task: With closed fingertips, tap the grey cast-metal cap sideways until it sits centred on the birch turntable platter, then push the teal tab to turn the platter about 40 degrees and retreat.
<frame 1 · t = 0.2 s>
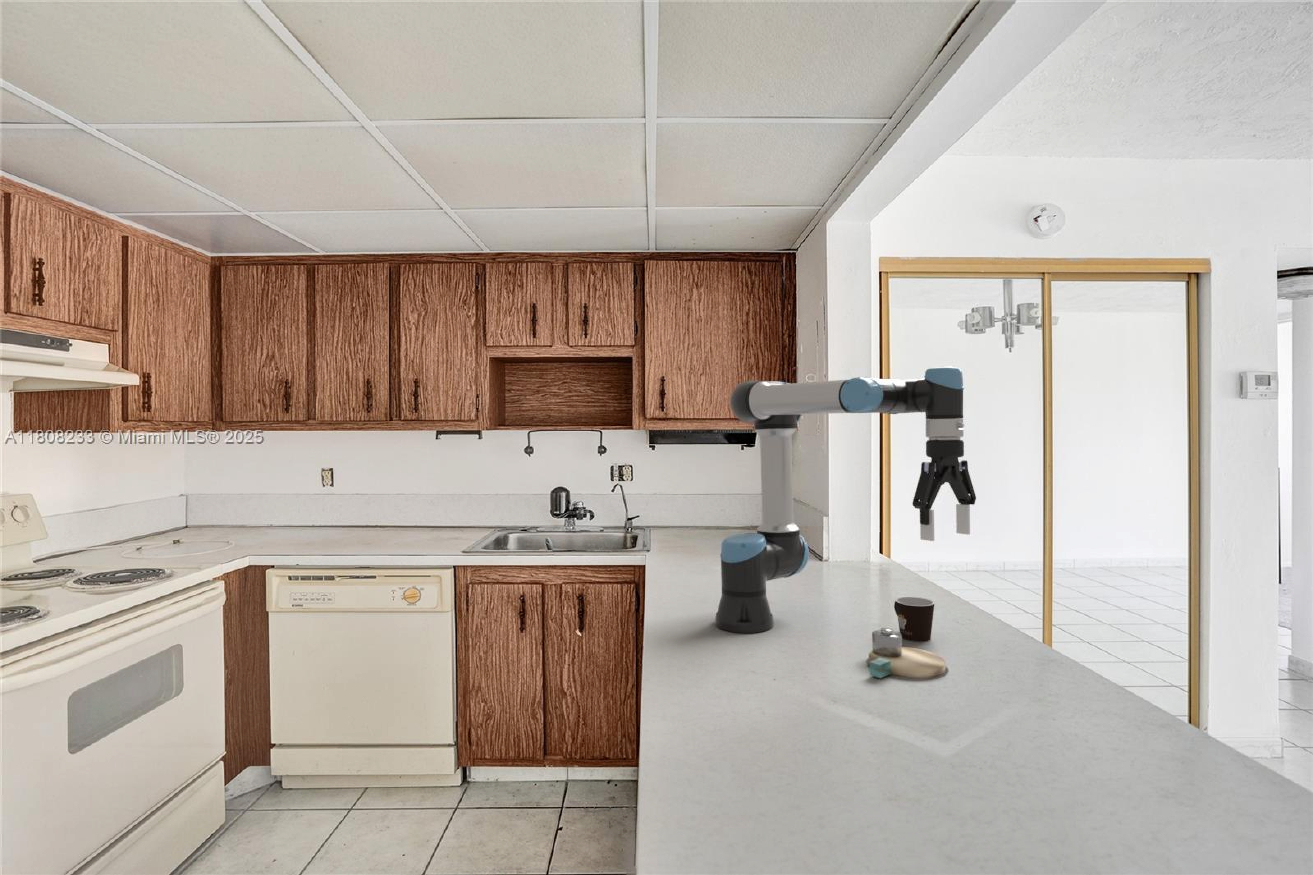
hand: (945, 537, 141), 27 cm above the worktop, fingers open, 13 cm apart
turntable base: (906, 672, 136), on the worktop
cover: (887, 652, 139), point 3 cm above the worktop, touching platter
platter: (901, 660, 135), point 3 cm above the worktop, hinge at 0.0°, touching cover
coffee mug: (914, 642, 156), on the worktop
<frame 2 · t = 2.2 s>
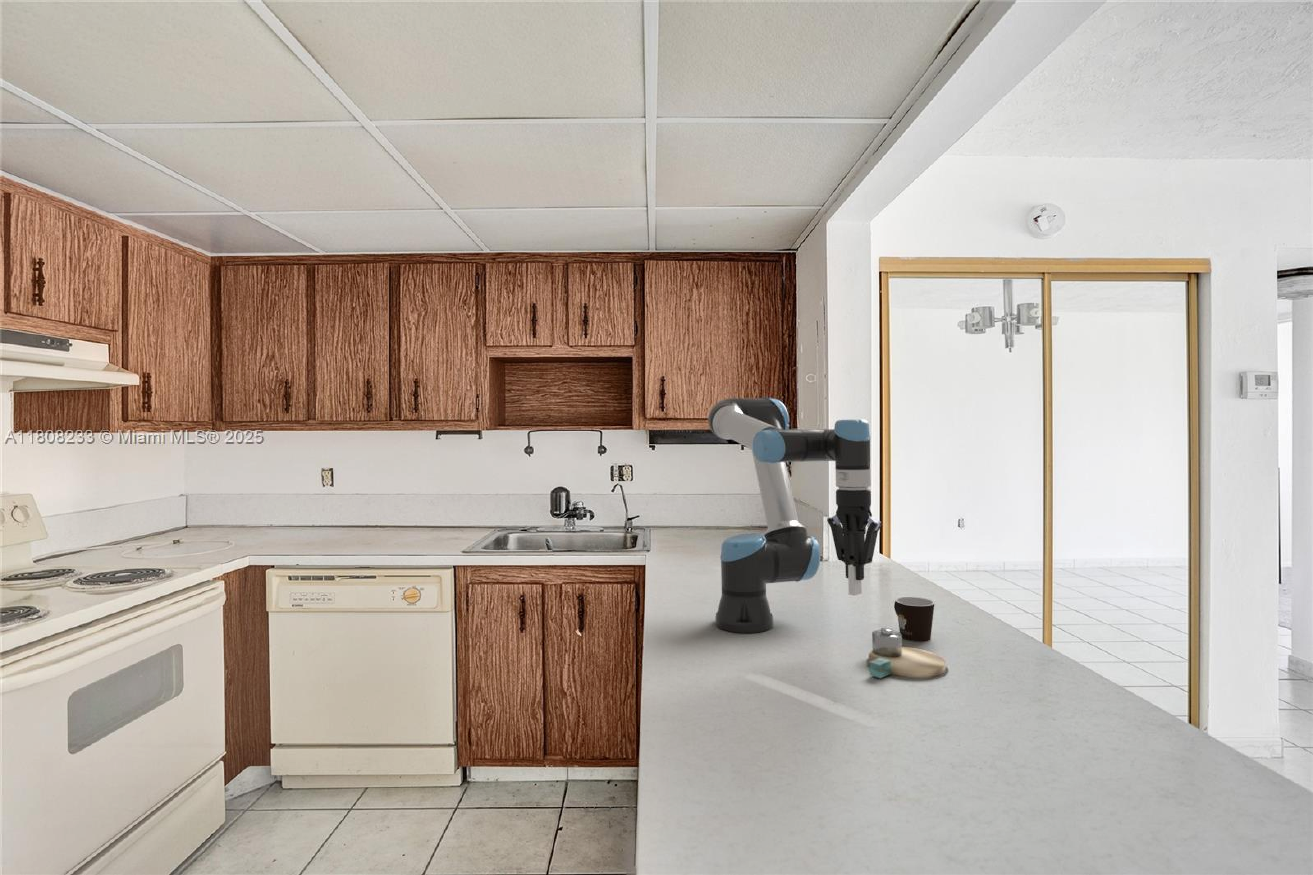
hand: (855, 593, 145), 14 cm above the worktop, fingers closed
nothing on the worktop moved.
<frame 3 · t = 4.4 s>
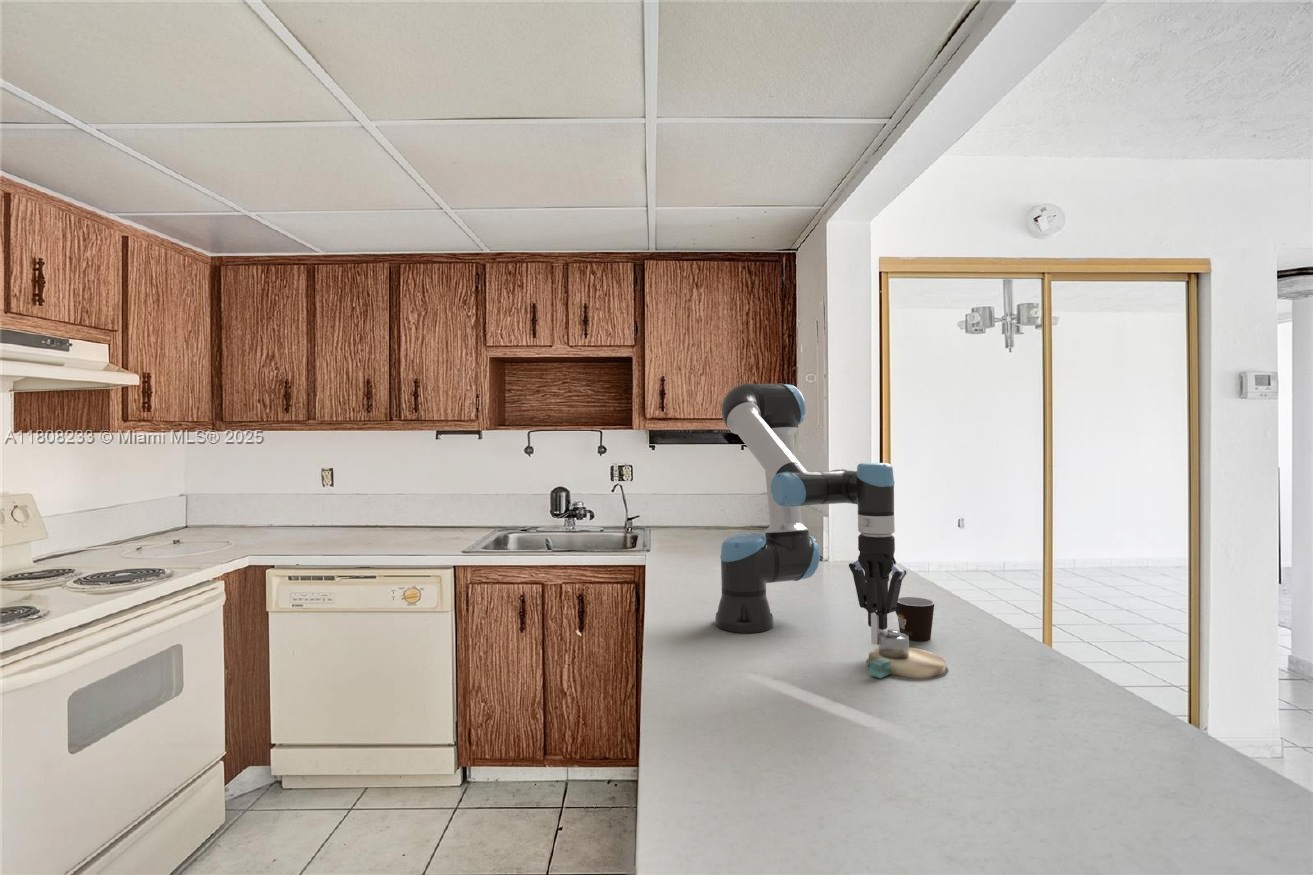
hand: (877, 642, 141), 5 cm above the worktop, fingers closed
cover: (893, 654, 138), point 3 cm above the worktop, touching gripper, platter
everything else where it was.
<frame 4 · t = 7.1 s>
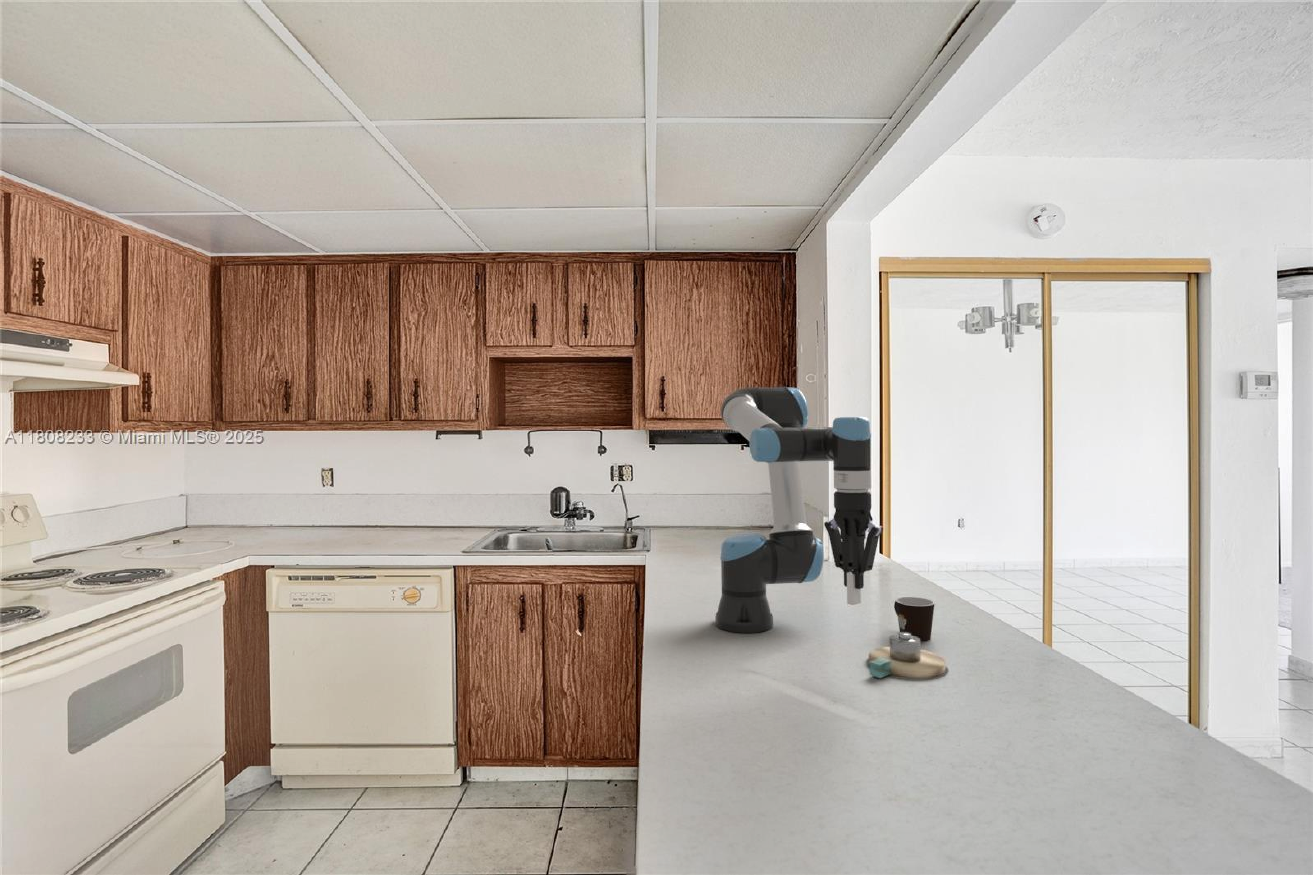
hand: (854, 603, 136), 15 cm above the worktop, fingers closed
cover: (905, 657, 136), point 3 cm above the worktop, touching platter
everything else where it was.
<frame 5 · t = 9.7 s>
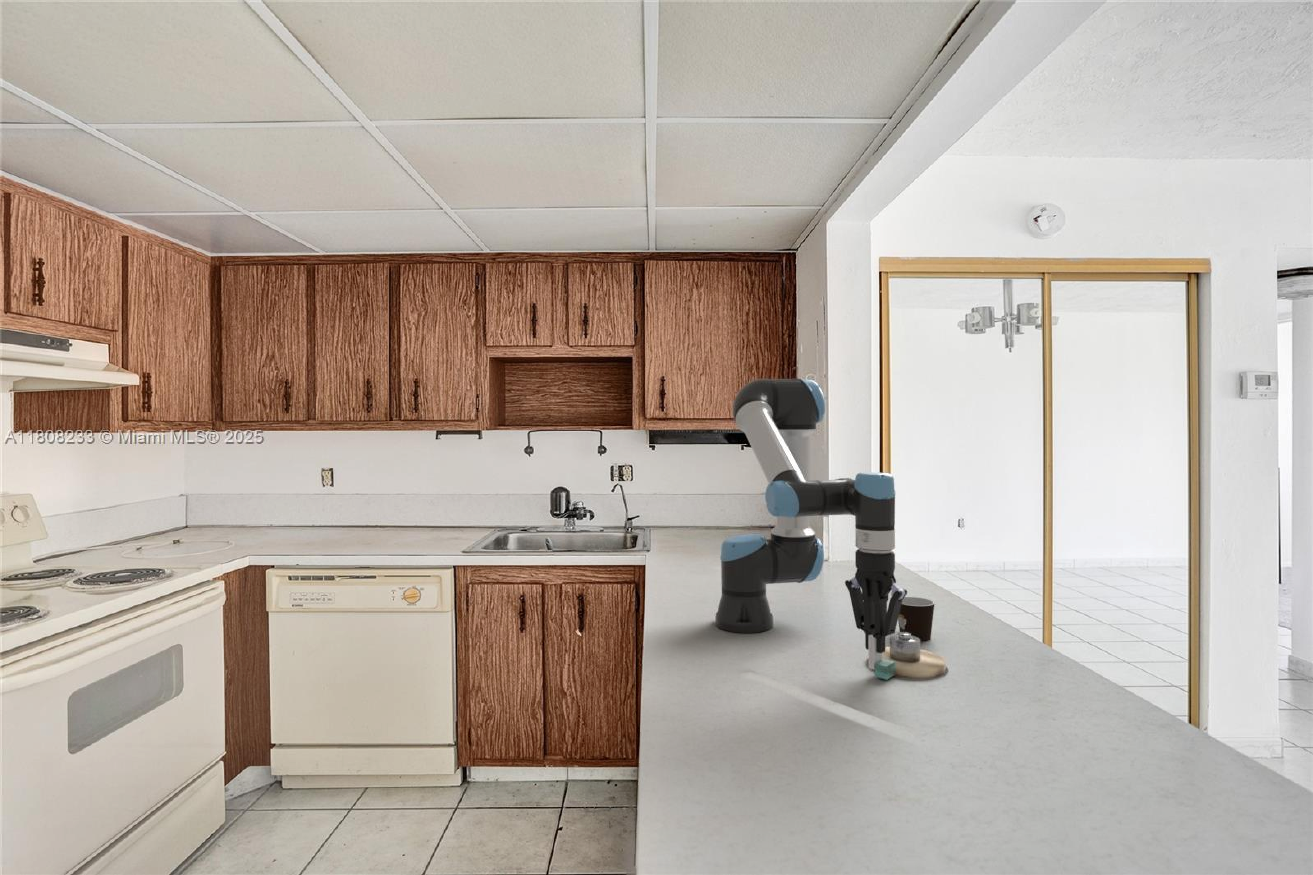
hand: (875, 667, 130), 3 cm above the worktop, fingers closed
platter: (902, 660, 134), point 3 cm above the worktop, hinge at 6.7°, touching cover, gripper
everything else where it was.
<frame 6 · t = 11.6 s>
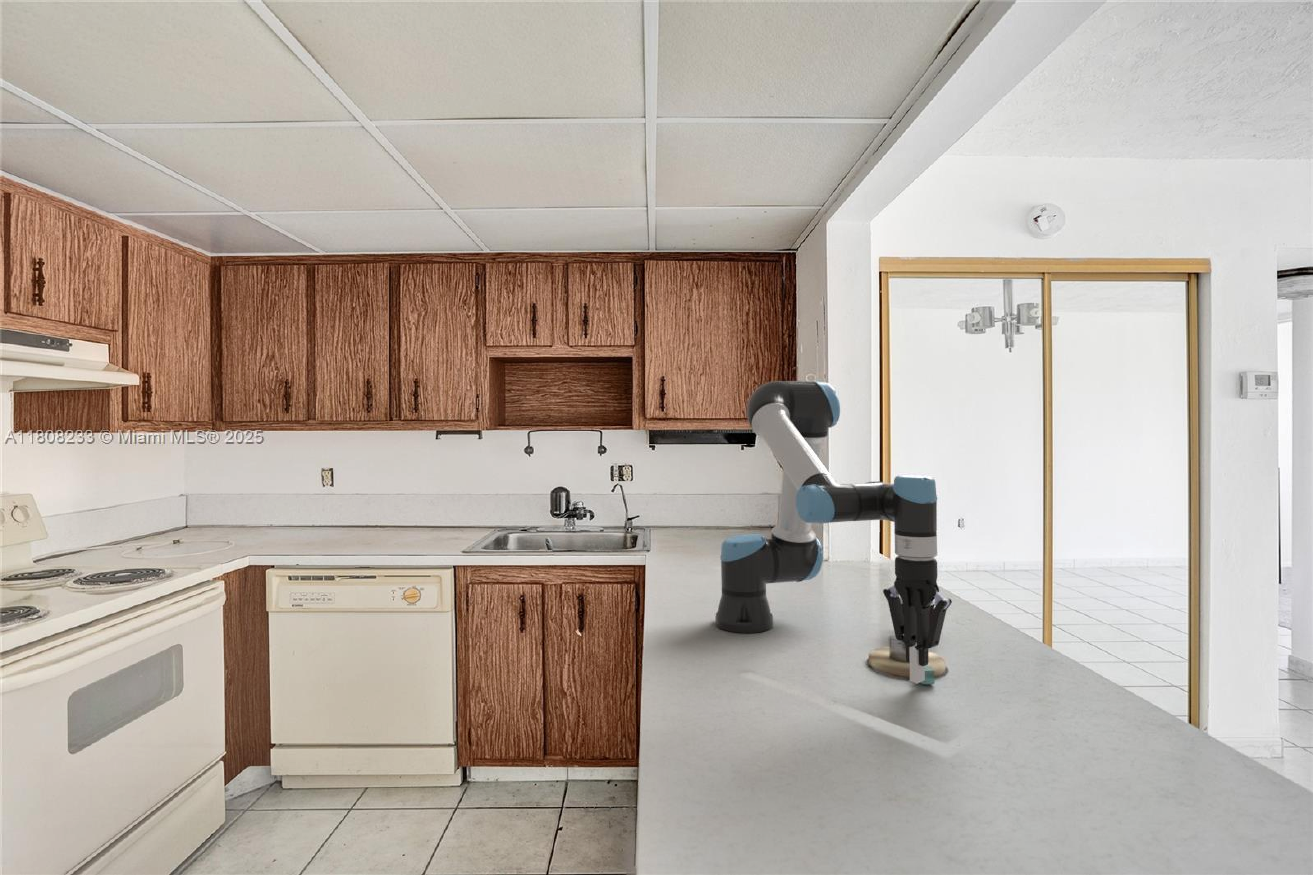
hand: (917, 680, 124), 3 cm above the worktop, fingers closed
platter: (909, 661, 134), point 3 cm above the worktop, hinge at 51.1°, touching cover, gripper
everything else where it was.
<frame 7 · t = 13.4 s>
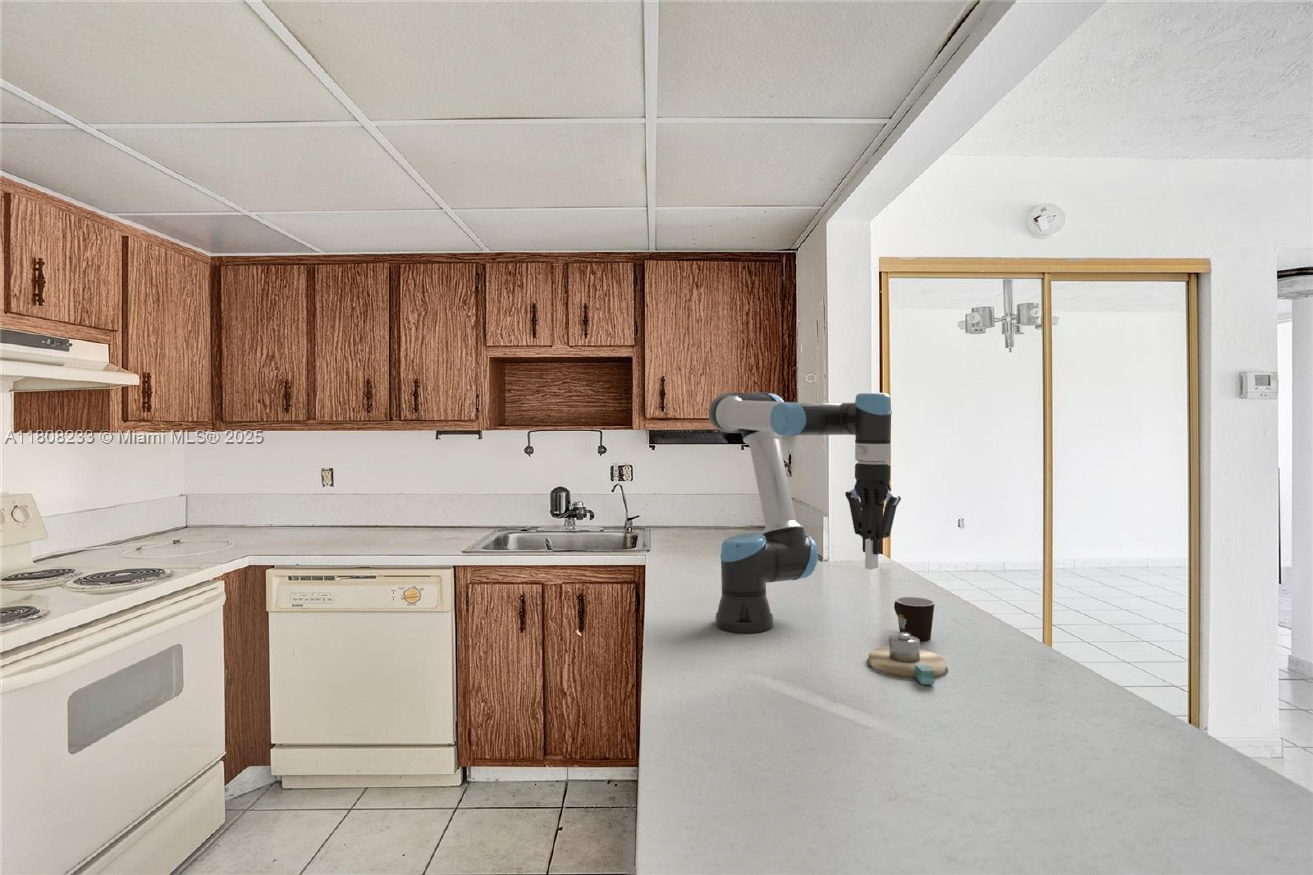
hand: (871, 567, 145), 20 cm above the worktop, fingers closed
platter: (909, 661, 134), point 3 cm above the worktop, hinge at 51.2°, touching cover
everything else where it was.
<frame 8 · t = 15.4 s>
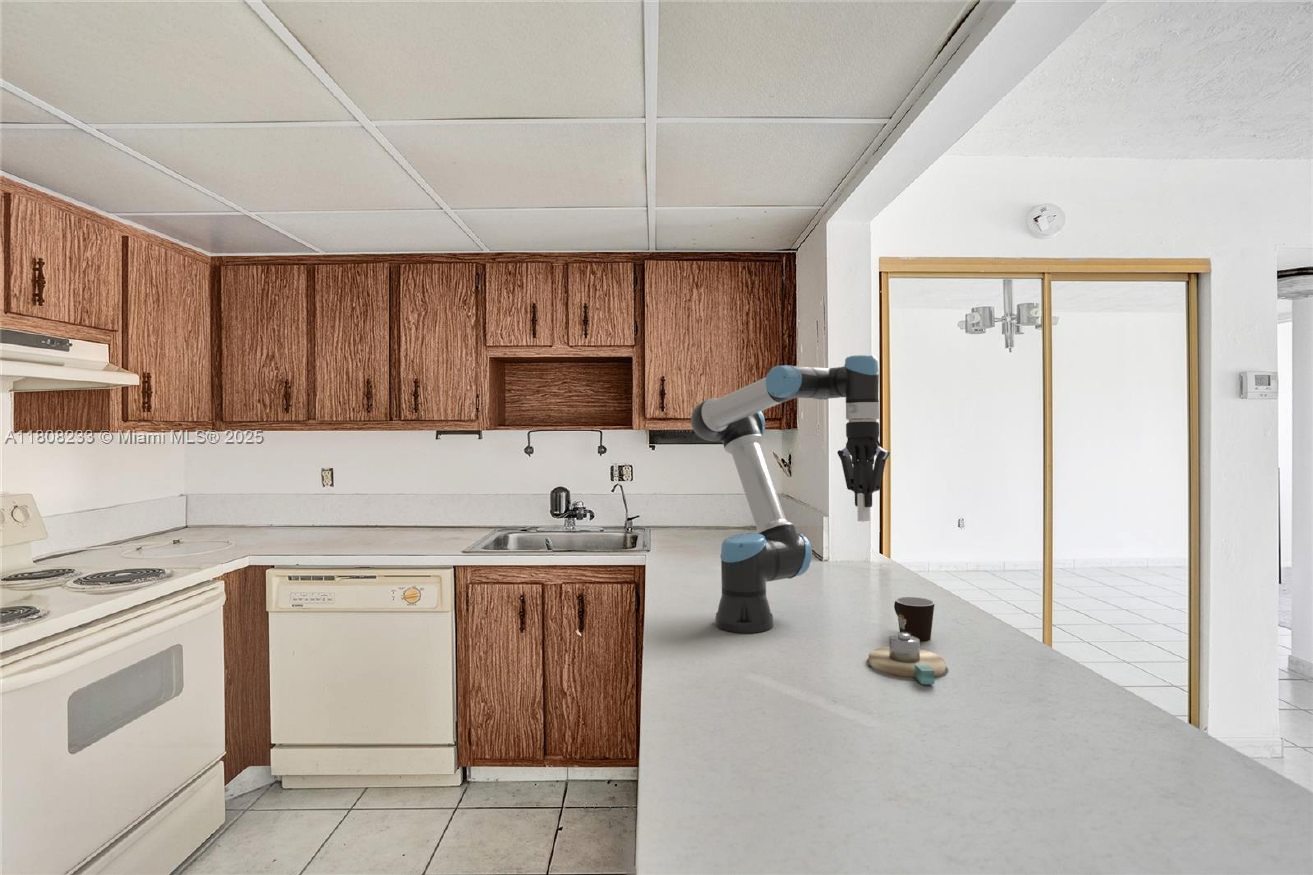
hand: (863, 520, 154), 29 cm above the worktop, fingers closed
nothing on the worktop moved.
at the end: cover 0.4 cm from the platter (horizontally); platter at +51° (first picture: +0°); cover tilted 0° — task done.
